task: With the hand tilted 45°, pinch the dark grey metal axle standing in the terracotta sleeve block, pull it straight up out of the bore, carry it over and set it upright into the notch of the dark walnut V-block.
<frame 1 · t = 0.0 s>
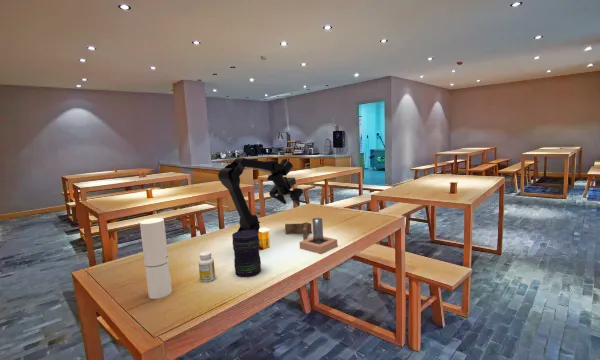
hand: (292, 204, 165), 15 cm above the table, tool tilted 35°, fingers open, 9 cm apart
cylindrical container: (160, 294, 107), on the table
sleeve block: (318, 247, 143), on the table
v block: (297, 235, 161), on the table
steel axle: (318, 233, 142), in the sleeve block
storage jar: (248, 272, 120), on the table
supplement bottle: (207, 279, 116), on the table
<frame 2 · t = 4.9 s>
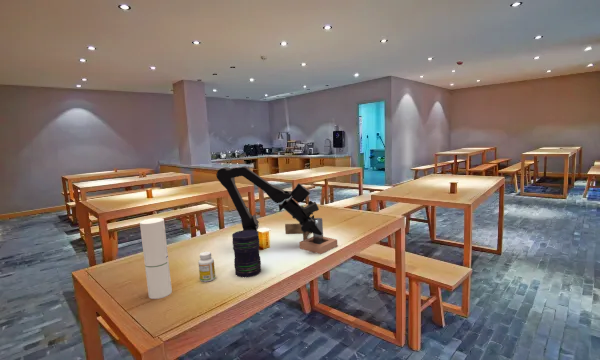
hand: (321, 232, 142), 7 cm above the table, tool tilted 45°, fingers closed on steel axle, 4 cm apart
steel axle: (318, 233, 142), in the sleeve block, touching gripper
everything else where it was.
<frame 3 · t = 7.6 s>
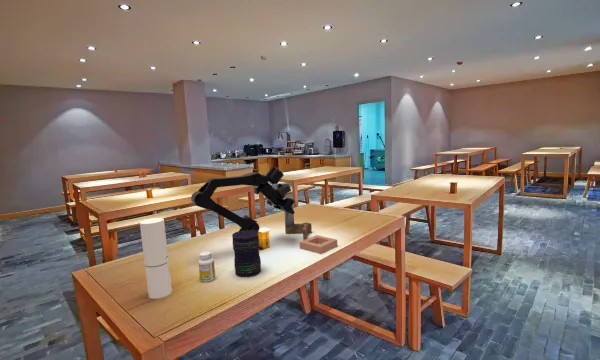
hand: (291, 212, 153), 14 cm above the table, tool tilted 45°, fingers closed on steel axle, 4 cm apart
steel axle: (289, 213, 152), point 14 cm above the table, touching gripper
everything else where it was.
when the fingers open (8 cm above the table, at t = 10.4 s): steel axle drops 1 cm, on the table.
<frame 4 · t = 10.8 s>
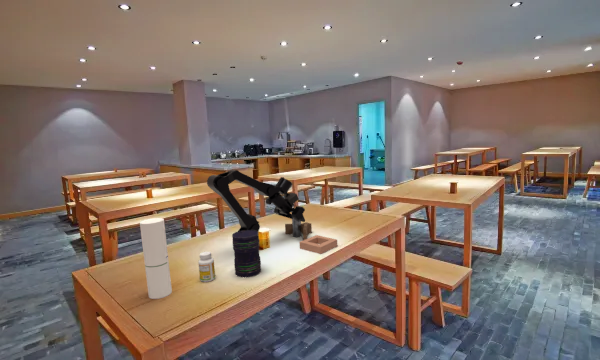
hand: (298, 219, 161), 8 cm above the table, tool tilted 45°, fingers open, 9 cm apart
steel axle: (296, 223, 160), on the table
everything else where it was.
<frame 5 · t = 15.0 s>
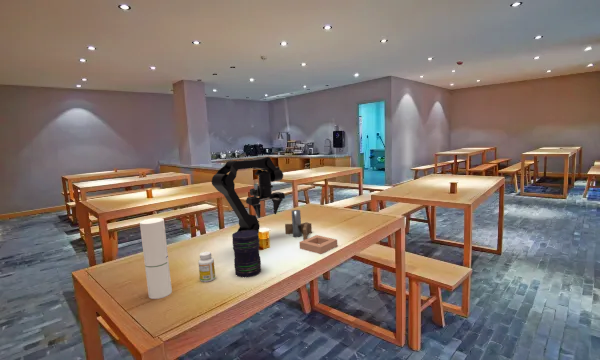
hand: (267, 215, 152), 13 cm above the table, tool pointing down, fingers open, 9 cm apart
nothing on the table moved.
at the end: steel axle 0.1 cm from the v block (horizontally); steel axle tilted 0°; the gripper is holding nothing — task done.
